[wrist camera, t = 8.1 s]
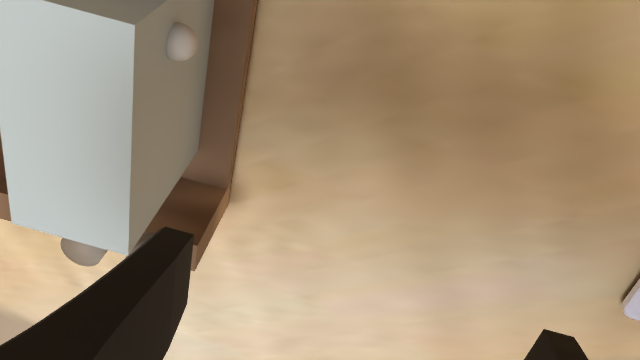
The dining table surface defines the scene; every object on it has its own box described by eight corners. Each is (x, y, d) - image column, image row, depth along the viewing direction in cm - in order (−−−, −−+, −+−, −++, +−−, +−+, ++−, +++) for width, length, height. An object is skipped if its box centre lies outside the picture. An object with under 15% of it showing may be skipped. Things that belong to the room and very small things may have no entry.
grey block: (239, -34, 18) (163, 32, 13) (214, 155, 22) (149, 261, 17) (108, -70, 18) (-18, -17, 13) (107, 125, 22) (11, 223, 17)
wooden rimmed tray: (276, -133, 17) (224, -108, 12) (228, 206, 24) (184, 293, 20) (-124, -235, 17) (-305, -245, 13) (-54, 130, 24) (-155, 200, 20)
